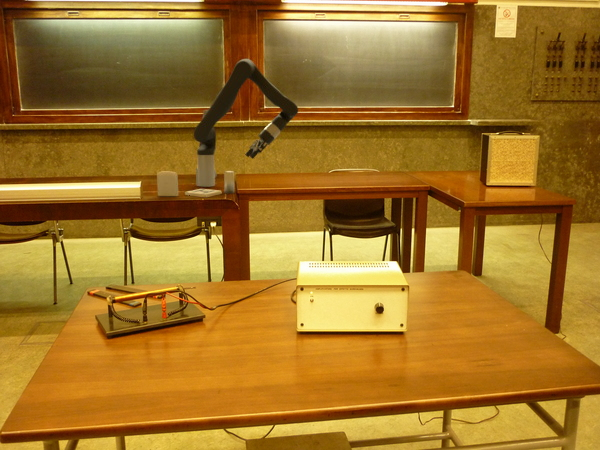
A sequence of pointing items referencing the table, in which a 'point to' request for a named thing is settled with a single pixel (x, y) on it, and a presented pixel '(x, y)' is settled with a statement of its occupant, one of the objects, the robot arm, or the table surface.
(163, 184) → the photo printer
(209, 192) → the board
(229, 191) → the canister
